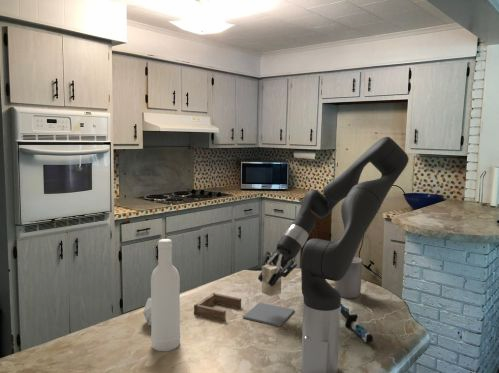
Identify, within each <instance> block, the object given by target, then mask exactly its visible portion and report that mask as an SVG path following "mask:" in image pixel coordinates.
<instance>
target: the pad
mask: <svg viewBox="0 0 499 373" xmlns="http://www.w3.org/2000/svg"><path fill="white" fill-rule="evenodd" d="M294 312H295V308H289V307H285V306H279V305H274V304H268V303H264V302H257V304H255V306H253V307H252V308H251V309H250V310H248V312H246V313H245V314H244V315H243V316H242V319H245V320H249V321H254V322H259V323H264V324H267V325H268V324H269V325H272V326H277V327H282V326H283V324H285V322H286V321H287V320H288V319H289V318H290V317H291V316H292V314H293V313H294Z"/></svg>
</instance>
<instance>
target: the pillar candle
mask: <svg viewBox="0 0 499 373" xmlns="http://www.w3.org/2000/svg"><path fill="white" fill-rule="evenodd" d="M362 266H363V259H362V258H360V257H358V256H354V258H353V261H352V263H351V265H350V267H349V269H348V271H347V273H346V274H345V276H344V277H343V278H342V279H341V280H339V281H334V288H335V289H336V290H337V291H338V292H339V293H340V295H341V298H344V299H354V298H355V299H356V298H359V297H360V296H361V288H362V287H361V285H362V272H363V271H362V268H363V267H362Z"/></svg>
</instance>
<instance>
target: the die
mask: <svg viewBox="0 0 499 373" xmlns="http://www.w3.org/2000/svg"><path fill="white" fill-rule="evenodd" d="M142 314H143V316H144V318H145V321H146V323H147V325H148V326H149V327H151V297H149V298H147V301H146V303H145V305H144V308H143V310H142Z"/></svg>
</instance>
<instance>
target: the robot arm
mask: <svg viewBox="0 0 499 373" xmlns="http://www.w3.org/2000/svg"><path fill="white" fill-rule="evenodd" d="M409 159H410V158H409V156H408V154H407V153H406V151H404V149H402V148H401V147H400V145H398V143H397V142H395V140H393V138H392V137H390V136H384V137H382V138H380V139H378V140H377V141H376V142H374V143H373V144H372V145H371V146H369V147H368V149H366V151H364V152H363V153H362V154H361V155H360V156H359V157H358V158H357V159H356V160H355V161H354V162H353V163H351V165H350V166H348V167H347V169H346V170H344V171H343V172H342V173H340V175H338V176H337V177H336V178H334V179H333V180H332V181H331V182H329V183H327V184H326V185H325V186H324V187H323V194H322V193H321V192H320V191H318V190H317V189H311V190H309V191H307V192H306V193H305V194H304V197H303V198H302V201H301V205H300V208H299V211H298V213H297V216H296V217H295V218H294V220H293V221H292V223H291V225H290V226H289V227H288V228H287V229H286V231H285V232H284V234H282V236H281V237H280V239H279V241H278V242H277V243H276V248H275V249H274V250H273V252H269V251H268V250H267V251H266V252H265V254H264V256H263V258H262V261H261V263H260V267H262V266H264V265H271V264H275V265H276V268H277V269H276V270H275V274H273V275H272V277H271V278H270V280H269V281H268V284H269V285H270V286H273V285H275V284H276V282H277V280H278V279H279V278H280V277H281V278H286V277H287V276H288V275H289V274H290V273H291V272H292V271H293V270H294V269H295V268H297V266H298V264H297V262H296V261H295V260H294V259H296V258H297V255H299V253H300V251H301V250H302V251H301V259H300V271H301V276H300V277H301V293H302V297H303V307H302V308H303V309H302V310H303V311H302V330H301V331H302V332H301V333H302V335H301V336H302V338H301V363H300V364H301V370H302V373H338V371H339V357H340V356H339V352H340V332H341V331H340V330H341V313H340V312H341V304H342V297H341V295H340V293H339V292H338V291H337V290H336V289H335V287H333V286H332V285H331V284H330V283H329V282H328V281H327V280H329V281H332V282H333V281H334V282H335V281H339V280H341V279H342V278H343V277H344V276H345V274H346V273H347V271H348V269H349V267H350V265H351V263H352V261H353V258H354V256H355V255H356V253H357V251H358V249H359V247H360V244H361V242H362V240H363V238H364V236H365V234H366V232H367V230H368V229H369V227H370V225H371V224H372V222H373V220H374V219H375V217H376V216H377V213H378V212H379V210H380V209H381V206H382V204H383V203H384V201H385V199H386V198H387V196H388V194H389V192H390V190H391V189H392V187H393V186H394V184H395V182H397V180H398V178H399V177H400V176H401V174H402V173H403V171H404V170H405V169H406V167H407V166H408V163H409ZM369 163H370V164H372V166H374V168H375V169H376V170H377V171H379V172H380V174H381V177H378V178H376V179H373V180H372V179H371V180H366V181H365V180H364V181H363V182H359V181H360V179H361V178H360V177H361V175H362V172H363V170H364V169H365V167H366V166H367V165H368V164H369ZM343 199H344V200H343ZM341 201H342V203H341V207H340V208H341V209H340V212H341V218H342V219H341V220H342V224H343V227H344V228H343V229H344V231H343V233H342V235H341V237H340V238H339V240H337V241H330V240H325V239H321V238H310V239H309V240H308V237H309V236H310V234H311V233H312V231H313V230H314V228H315V227H316V223H317V222H316V220H315V219H314V217H313V216H312V214H313V215H315V216H316V217H317V218H320V219H323V218H326V217H328V215H330V213H331V212H332V210H333V209H335V207H336V206H337V204H339V203H340V202H341ZM302 248H303V249H302ZM279 270H281V271H279ZM257 279H258V281H259V282H261V283H262V271H261V272H260V274H259V275H258V277H257Z"/></svg>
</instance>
